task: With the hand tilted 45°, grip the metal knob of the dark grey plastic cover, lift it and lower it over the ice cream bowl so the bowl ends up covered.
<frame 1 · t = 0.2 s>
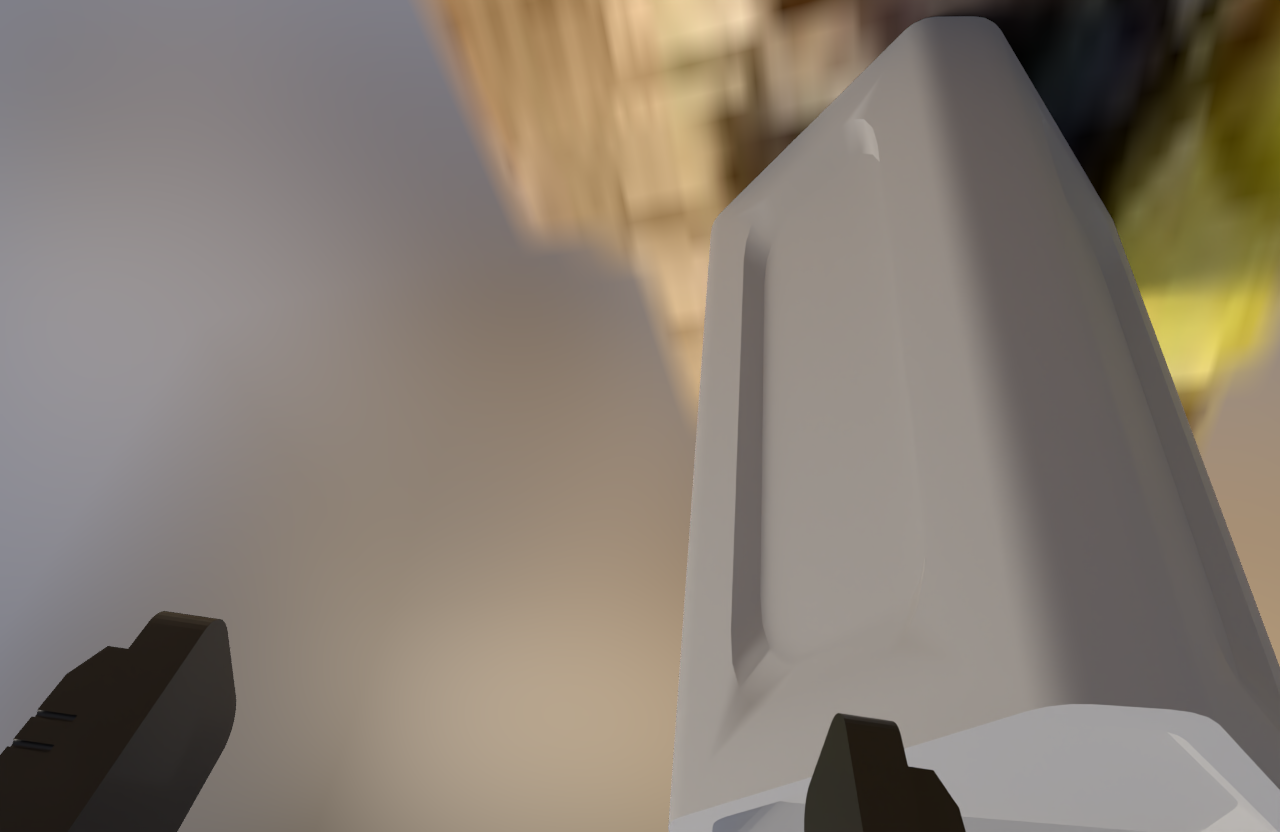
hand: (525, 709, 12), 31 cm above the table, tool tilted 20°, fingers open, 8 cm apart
paper bag: (920, 172, 42), on the table
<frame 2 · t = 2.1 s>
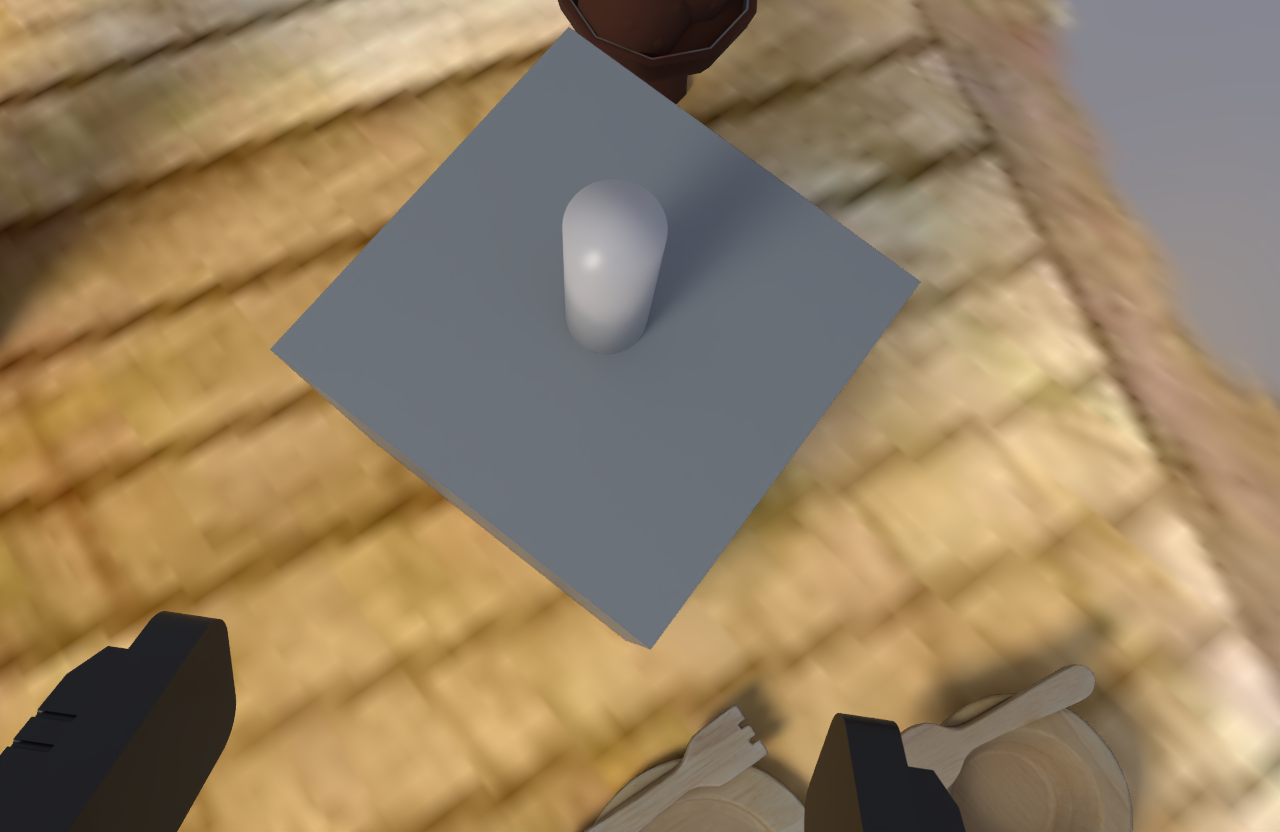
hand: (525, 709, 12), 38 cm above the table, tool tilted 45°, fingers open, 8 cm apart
ice cream bowl: (644, 79, 57), on the table
cover: (596, 413, 52), on the table
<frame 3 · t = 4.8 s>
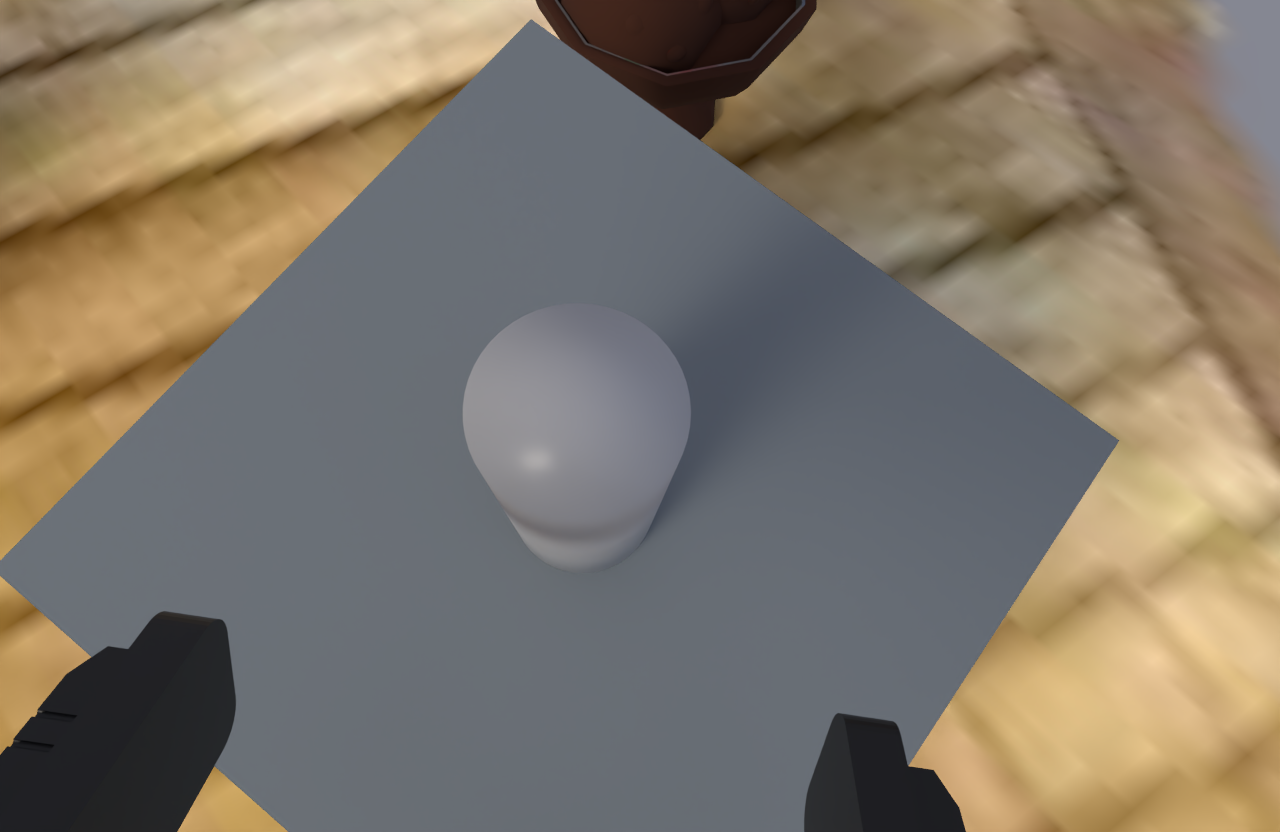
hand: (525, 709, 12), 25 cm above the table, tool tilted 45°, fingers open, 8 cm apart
ice cream bowl: (658, 106, 43), on the table
cover: (587, 569, 37), on the table
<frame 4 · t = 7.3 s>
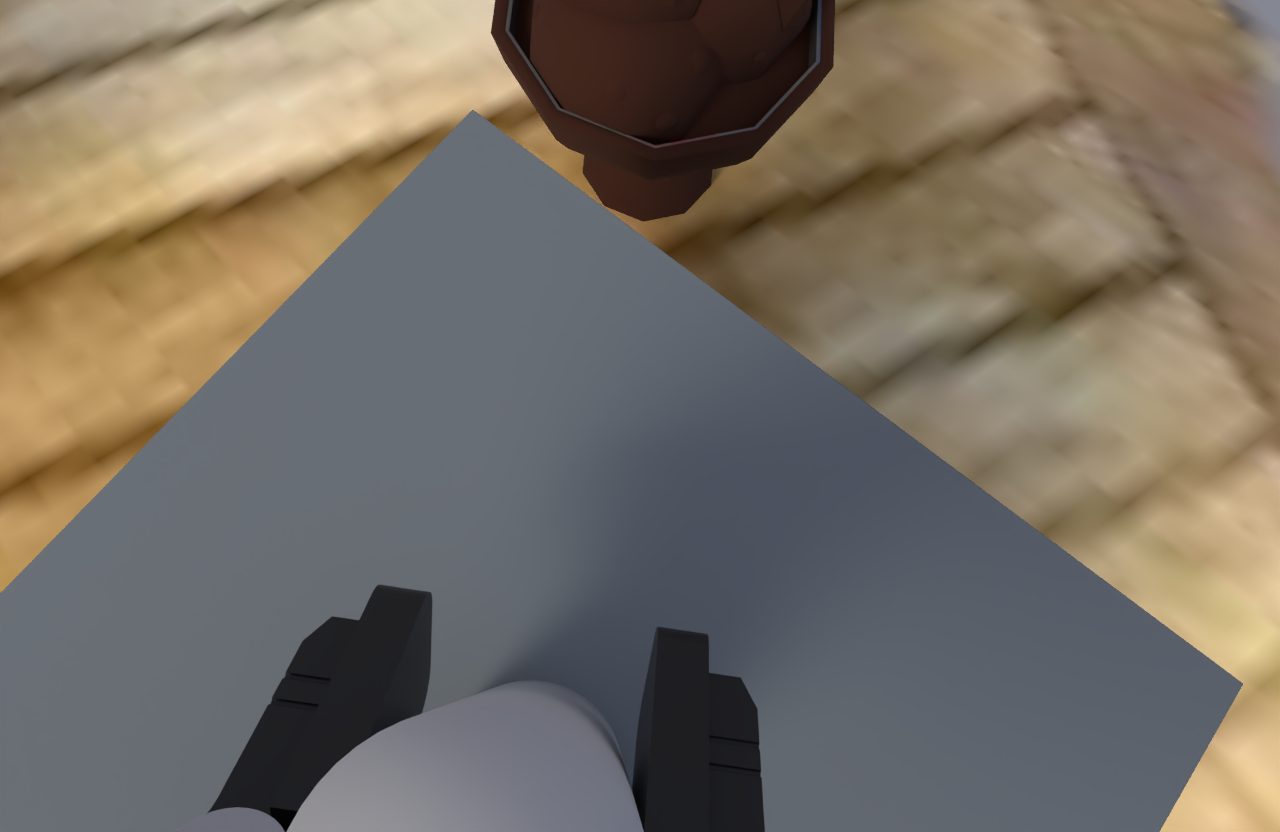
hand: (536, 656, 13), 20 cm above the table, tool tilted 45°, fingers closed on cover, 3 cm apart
ice cream bowl: (648, 162, 38), on the table
cover: (561, 712, 32), on the table, touching gripper
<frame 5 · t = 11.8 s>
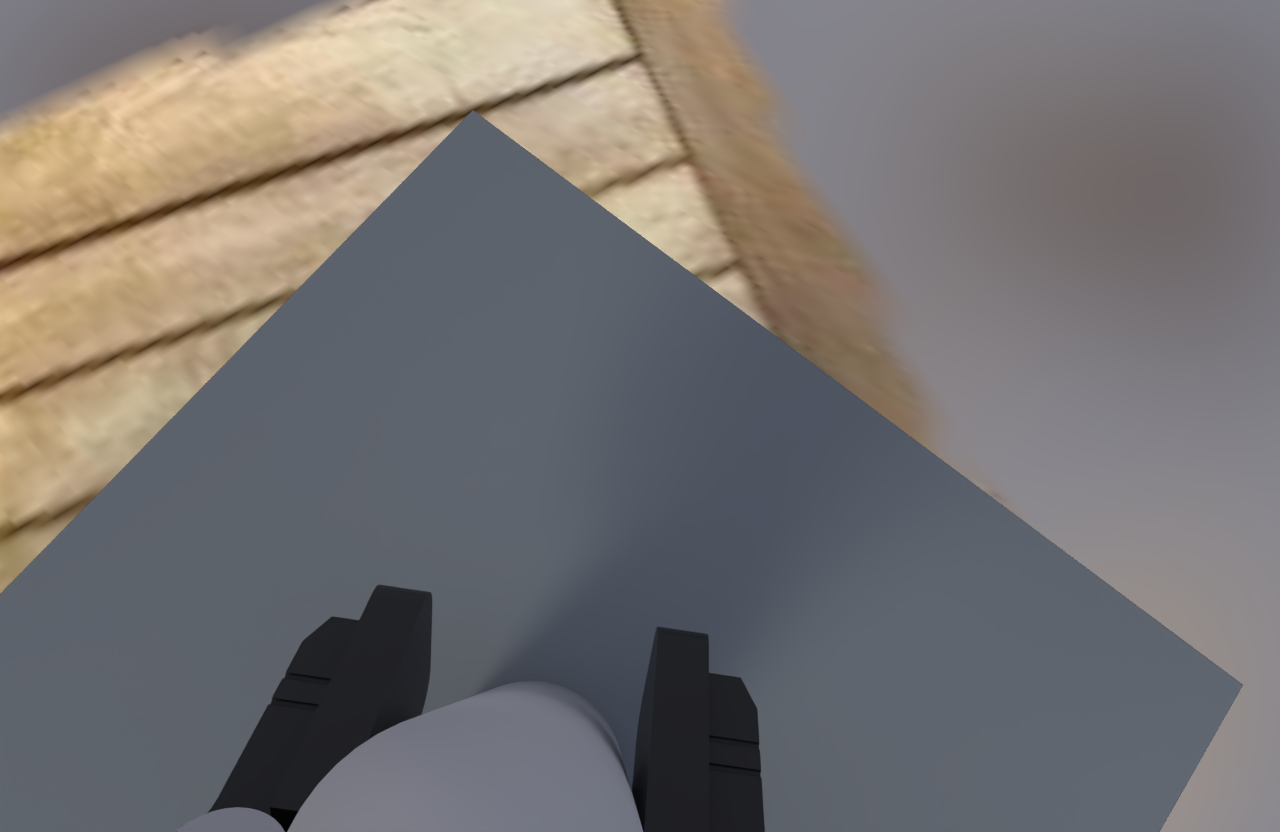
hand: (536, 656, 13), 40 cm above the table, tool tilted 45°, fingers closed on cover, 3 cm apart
cover: (561, 712, 32), point 20 cm above the table, touching gripper
when the fingers open (22 cm above the table, at t = 16.5 s): cover drops 1 cm, on the table.
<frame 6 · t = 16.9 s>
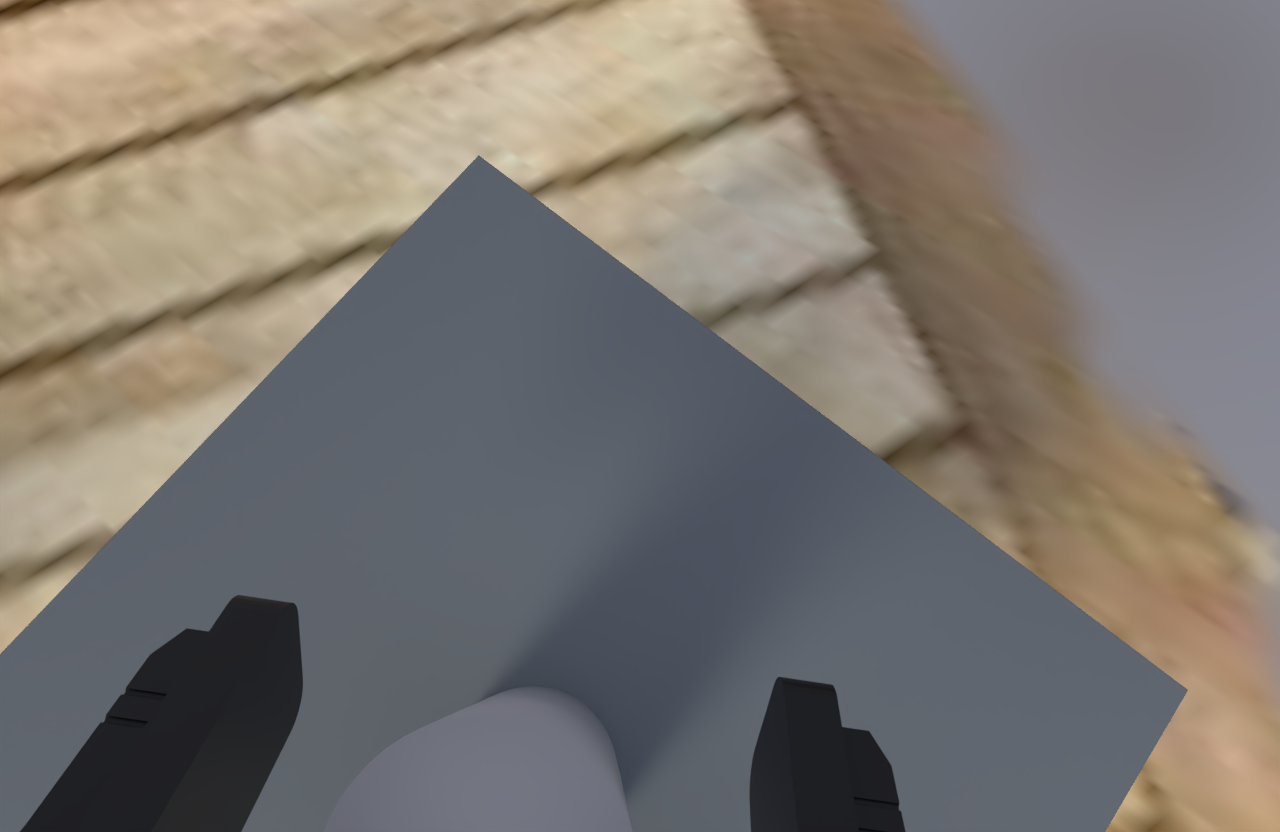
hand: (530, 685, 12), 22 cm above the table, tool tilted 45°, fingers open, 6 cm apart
cover: (561, 714, 33), on the table
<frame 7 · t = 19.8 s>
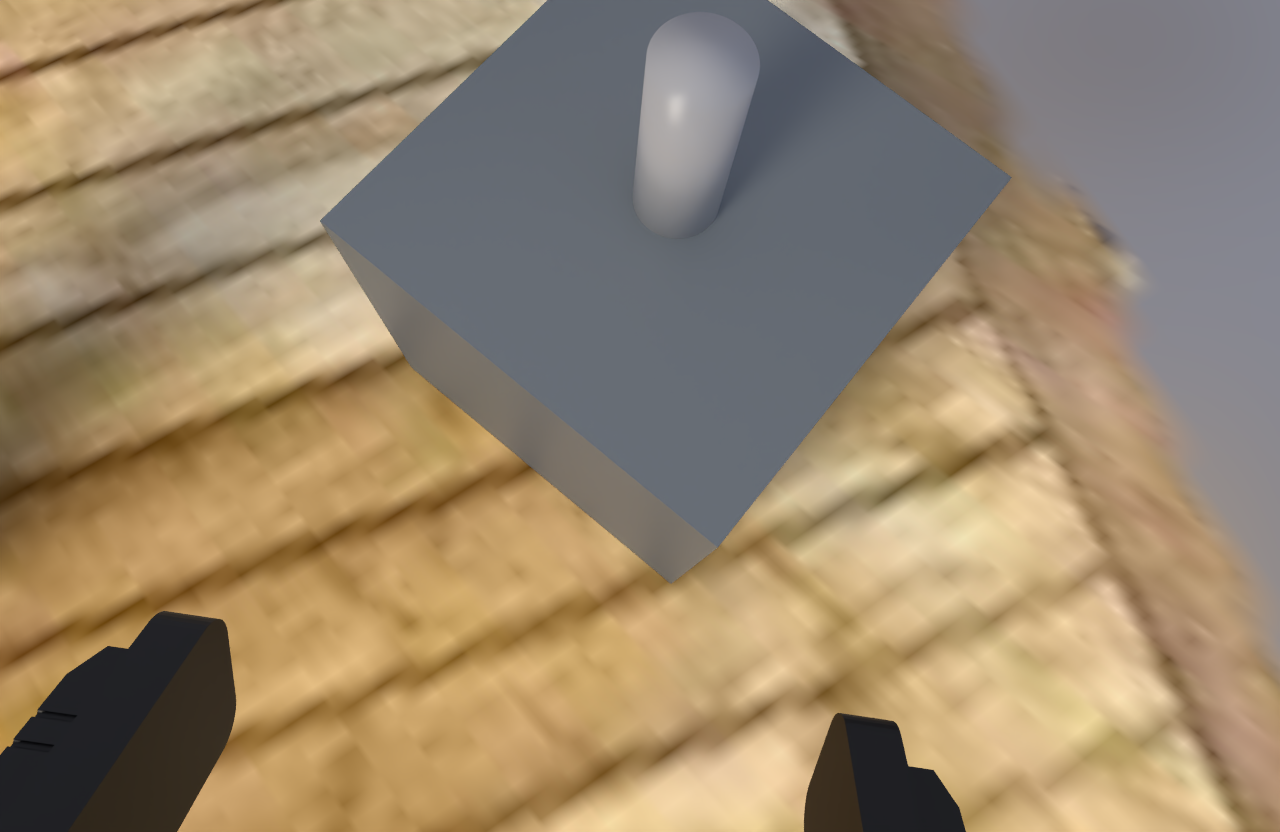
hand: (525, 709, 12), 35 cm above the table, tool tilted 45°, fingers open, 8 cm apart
cover: (646, 349, 50), on the table
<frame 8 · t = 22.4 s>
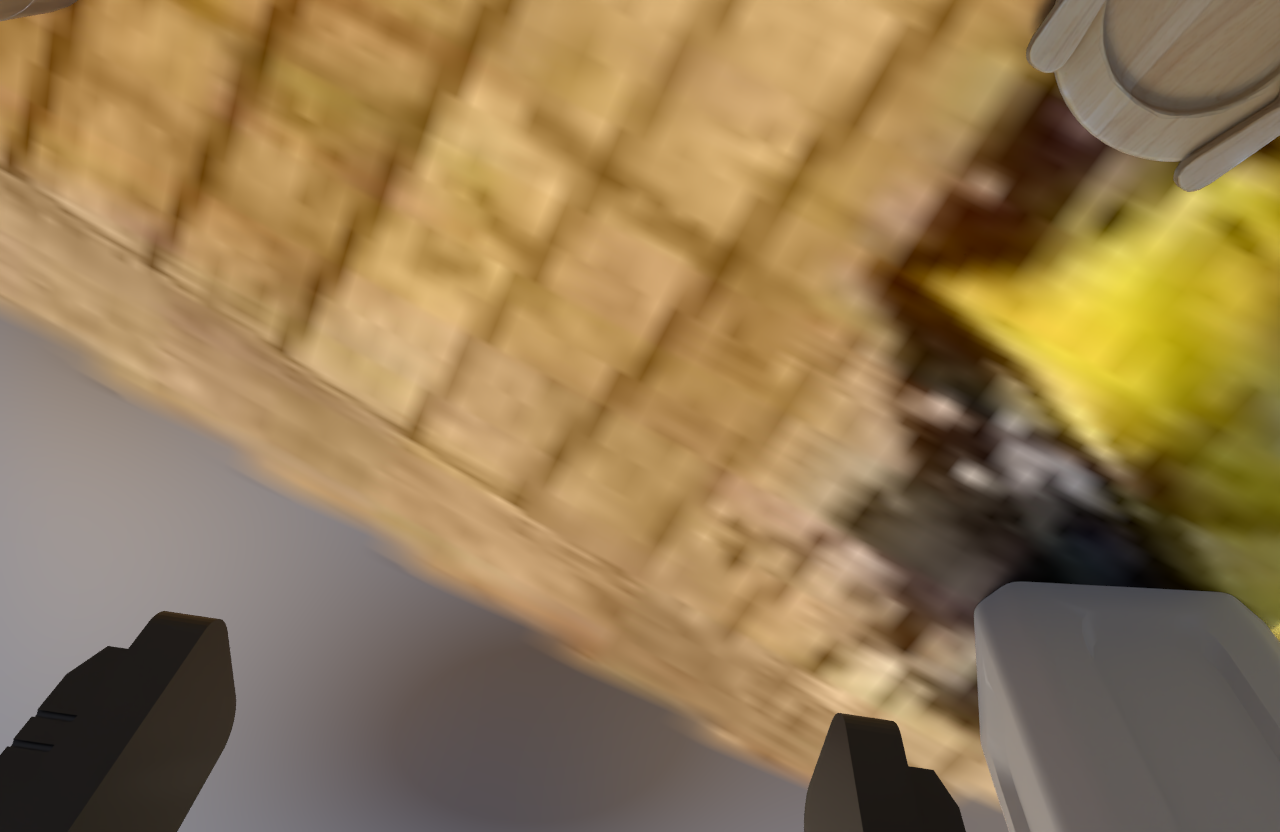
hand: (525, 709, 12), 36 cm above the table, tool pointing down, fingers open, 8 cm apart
paper bag: (1067, 651, 58), on the table
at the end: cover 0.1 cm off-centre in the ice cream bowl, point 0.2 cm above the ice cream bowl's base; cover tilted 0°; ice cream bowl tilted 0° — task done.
